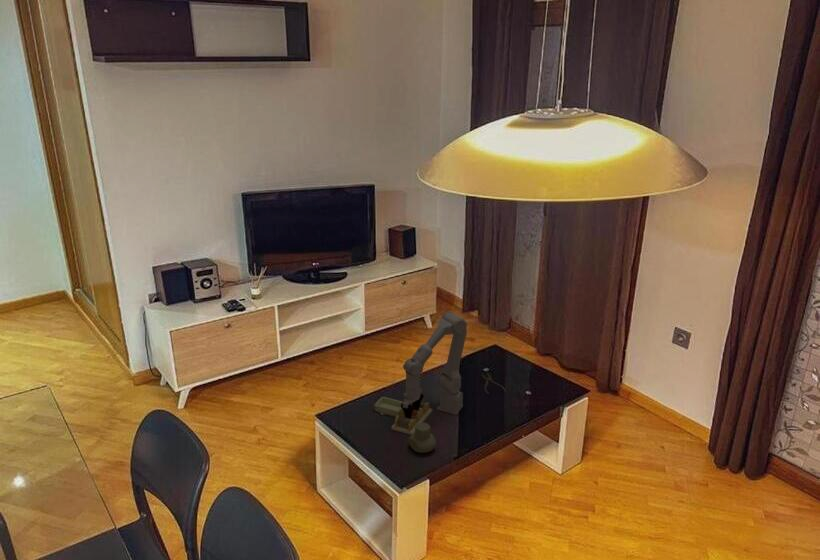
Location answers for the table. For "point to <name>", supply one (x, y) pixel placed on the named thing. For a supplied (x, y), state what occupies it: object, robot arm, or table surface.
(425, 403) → the fuse
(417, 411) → the cylinder
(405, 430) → the fuse holder
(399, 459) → the table surface
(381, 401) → the tray
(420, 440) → the air freshener
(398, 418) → the fuse
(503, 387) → the pliers
